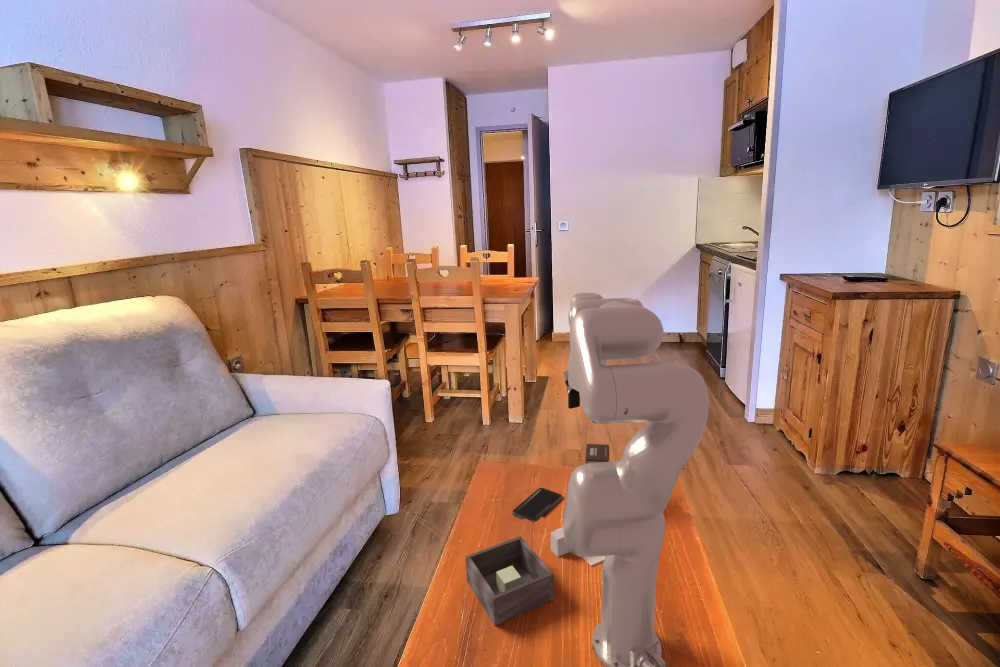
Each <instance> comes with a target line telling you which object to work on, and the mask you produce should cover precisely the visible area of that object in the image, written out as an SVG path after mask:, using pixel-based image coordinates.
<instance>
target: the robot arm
mask: <svg viewBox="0 0 1000 667" xmlns="http://www.w3.org/2000/svg"><path fill="white" fill-rule="evenodd" d="M569 306H570V307H569V308H570V309H569V310H568V317H567V318H568V326H569V347H570V349H569V350H570V351H569V357H568V363H567V364H568V366H567V368H568V369H567V370H566V371H563V376H564V384H565V385H566V387H567V388H566V392H567V398H568V399H567V400H568V401H567V402H568V403H567V406H568V407H567V408H568V409H569V410H570V409H575V408H579V407H580V406H581V407H582V410H583V413H584V414H585V416H586V417H587V418H588V419H589V420H590V421H591V422H592V423H594V424H600V425H602V424H603V425H613V424H614V425H615V424H628V423H645V422H647V423H648V424H646V425H645V426H643V427H642V428H641V429H639V430H638V431H637V432H636V433H635V434H634V435H633V436H632V437H631V438H630V439H629V441H628V442H627V444H626V445H625V447H624V451H623V455H622V458H621V459H620V460H613V461H609V462H600V463H589V464H585V463H584V464H581V465H579V466H577V467H576V468H575V469H574V470H573V471H572V472H571V474H570V477H569V479H568V480H569V481H568V485H567V492H566V499H565V506H564V512H563V519H562V520H563V521H562V527H563V533H564V538H565V542H566V544H567V546H568V548H569V550H570V551H571V552H570V553H572V554H573V555H575V556H577V557H580V558H583V557H596V556H606V557H605V559H604V561H603V562H602V569H601V571H602V572H601V573H602V574H601V581H602V582H601V616H600V617H601V619H600V620H601V621H600V622H599V623H598V624H597V625H596V626H595V627H594V630H593V633H592V647H593V651H594V654H595V655H596V656H597V658H598V660H599V661H600V662H601V664H603V665H604V666H605V667H666V666H667V662H666V661H665V660H664V659H663V658H662V644H661V641H660V639H659V637H658V635H657V634H656V632H655V630H654V629H655V611H656V593H657V582H658V581H657V578H658V565H659V560H660V559H659V558H660V555H661V551H662V547H663V544H664V540H665V536H666V520H665V515H664V511H665V509H666V507H667V505H668V503H669V502H670V499H671V496H672V495H673V491H674V489H675V486H676V485H677V482H678V478H679V477H680V473H681V471H682V470H683V467H684V466H685V465H686V463H687V462H688V460H689V459H690V458H691V456H692V455H693V454H694V452H695V451H696V449H697V447H698V445H699V444H700V442H701V440H702V438H703V436H704V433H705V430H706V428H707V423H708V419H709V418H708V417H709V409H710V408H709V407H710V406H709V404H710V403H709V402H710V401H709V392H708V387H707V384H706V381H705V380H704V378H703V376H702V375H701V374H700V372H699V371H697V370H696V369H694V368H692V367H691V366H688V365H686V364H681V363H676V362H675V363H674V362H673V363H672V362H647V363H646V362H645V363H644V362H643V363H631V364H630V363H628V364H627V363H626V364H608V365H607V360H622V359H623V360H624V359H625V360H627V359H639V358H643V357H646V356H649V355H650V354H653V353H654V352H655V351H656V350H657V349H658V348H659V347H660V346H661V343H662V341H663V339H664V326H663V323H662V322H661V319H660V318H659V317H658V315H656V313H655V312H654V311H652V310H651V309H648V308H646V307H644V306H643V304H642V302H641V301H640V300H639V299H636V298H631V297H630V298H629V297H619V298H617V297H616V298H615V297H613V298H612V297H611V298H603V296H602V295H601V294H599V293H594V292H579V293H576V294H574V295H572V296H571V298H570V304H569Z"/></svg>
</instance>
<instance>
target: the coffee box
mask: <svg viewBox="0 0 1000 667" xmlns="http://www.w3.org/2000/svg"><path fill="white" fill-rule="evenodd" d="M585 448H586V449H585V456H584V457H585V461H584V462H585V463H584V464H589V463H600V462H610V445H609V444H602V443H601V444H600V443H586V445H585Z"/></svg>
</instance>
